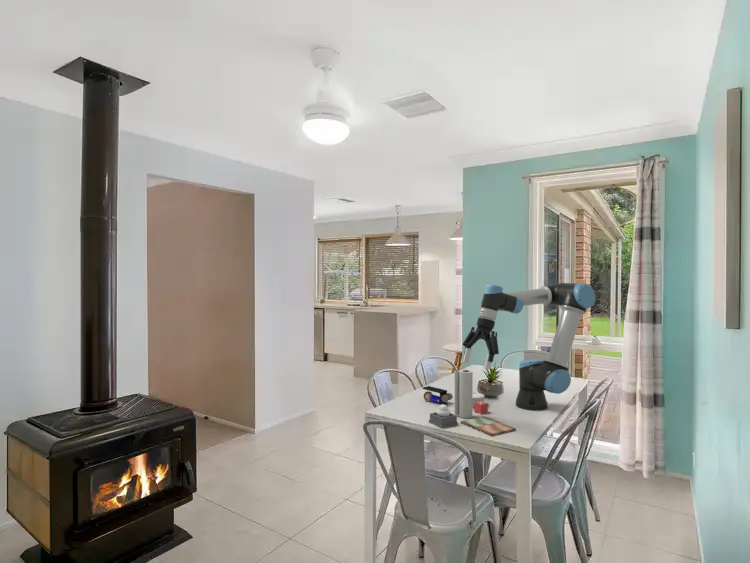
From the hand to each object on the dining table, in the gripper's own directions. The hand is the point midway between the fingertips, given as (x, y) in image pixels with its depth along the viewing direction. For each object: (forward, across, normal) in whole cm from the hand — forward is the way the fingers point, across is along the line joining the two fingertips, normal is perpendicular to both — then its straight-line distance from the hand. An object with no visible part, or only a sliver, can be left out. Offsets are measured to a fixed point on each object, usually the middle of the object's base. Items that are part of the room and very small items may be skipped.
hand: (475, 365), depth 199 cm
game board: (+24, +6, +9) cm, 26 cm away
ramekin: (+21, -22, +26) cm, 40 cm away
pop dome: (+25, -7, -5) cm, 26 cm away
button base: (+28, -7, -4) cm, 30 cm away
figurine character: (+25, -35, +14) cm, 45 cm away
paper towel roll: (+25, -10, +10) cm, 28 cm away
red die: (+22, -11, +21) cm, 32 cm away
